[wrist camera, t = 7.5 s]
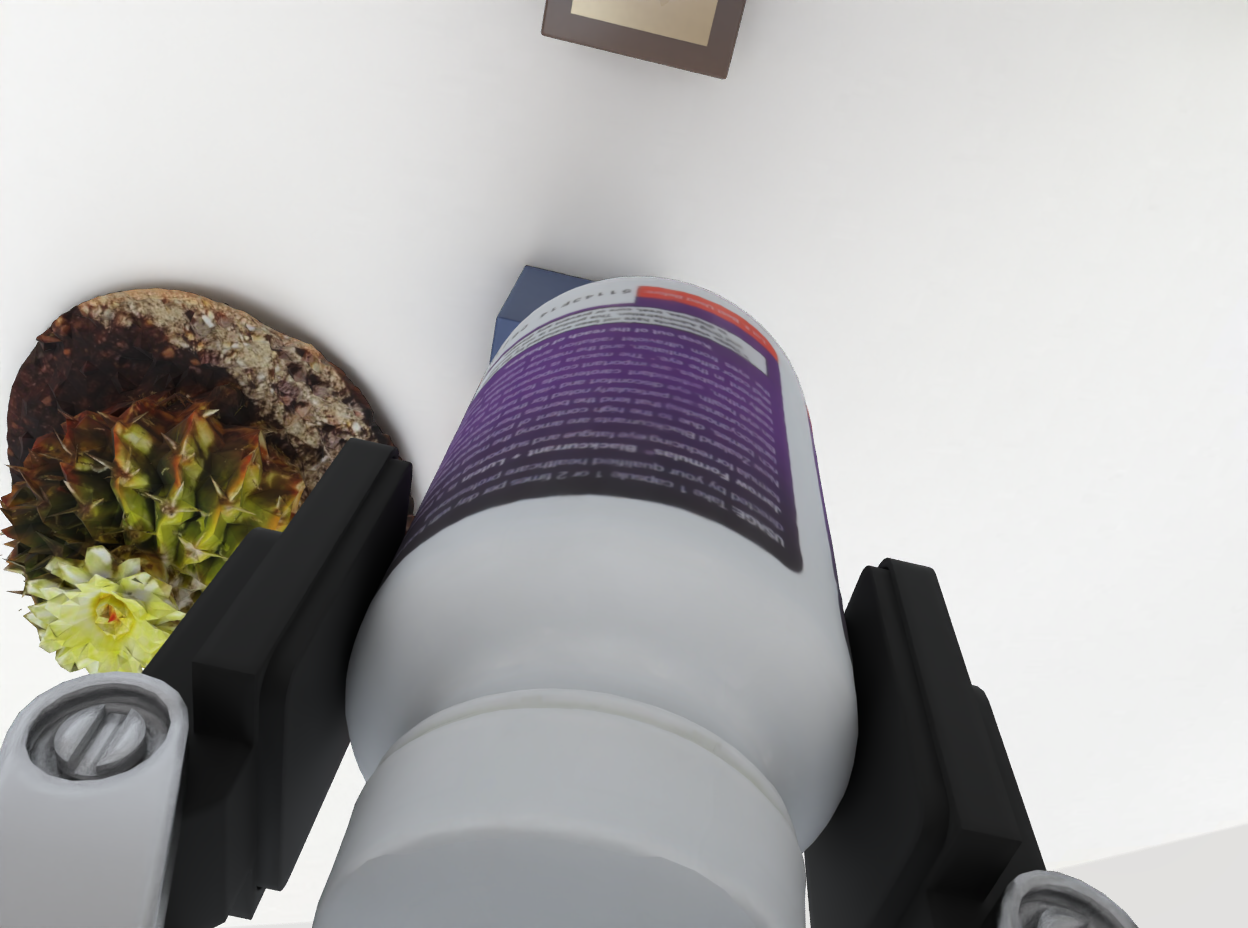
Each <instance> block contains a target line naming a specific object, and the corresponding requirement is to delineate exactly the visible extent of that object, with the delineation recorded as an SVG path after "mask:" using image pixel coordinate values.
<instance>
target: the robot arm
mask: <svg viewBox="0 0 1248 928" xmlns="http://www.w3.org/2000/svg"><path fill="white" fill-rule="evenodd" d="M411 480H412V463H410V462H406V461H401V460H399V452H398V449H397V447H393V446H389V445H384V444H380V443H375V442H371V441H367V440H362V439H358V438H350V439H349V440H348V441H347V442H346V443H345V445H344V446H343V448H342V449H341V450H340V452H339V453H338V455H337V456H336V458H335V459H334V460H333V462H332V463H331V465H330V466H329V467H328V469H327V470H326V472H325V473H324V475H323V476H322V477H321V479H320V480H319V482H318V483H317V484H316V486H315V487H314V489H313V490H312V491H311V493H310V494H309V496H308V497H307V499H306V500H305V501H304V503H303V504H302V506H301V507H300V508H299V510H298V511H297V513H296V514H295V516H294V517H293V518H292V520H291V521H290V523H289V524H288V525H287V527H286V528H285V530H284V531H283V532H280V531H275V530H271V529H266V528H262V527H257V528H254V529H252V530H251V531H250V532H249V533H248V534H247V535H246V536H245V538H244V539H243V540H242V541H241V543H240V544H239V545H238V547H237V548H236V549H235V551H234V552H233V553H232V555H231V556H230V557H229V559H228V560H227V561H226V562H225V564H224V565H223V566H222V568H221V569H220V570H219V572H218V573H217V574H216V576H215V577H214V578H213V580H212V581H211V582H210V583H209V585H208V586H207V587H206V589H205V590H204V591H203V593H202V594H201V595H200V597H199V598H198V599H197V601H196V602H195V603H194V604H193V606H192V607H191V608H190V610H189V611H188V612H187V614H186V615H185V616H184V618H183V619H182V620H181V622H180V623H179V624H178V625H177V627H176V628H175V629H174V631H173V632H172V633H171V635H170V636H169V637H168V639H167V640H166V641H165V643H164V644H163V645H162V646H161V648H160V649H159V650H158V652H157V653H156V654H155V656H154V657H153V658H152V660H151V661H150V662H149V664H148V665H147V666H146V667H145V669H144V670H143V671H142V673H131V672H120V671H114V672H105V673H96V674H88V675H85V676H82V677H79V678H76V679H72V680H69V681H66V682H63V683H61V684H59V685H57V686H55V687H53V688H51V689H50V690H48V691H46V692H44V693H42V694H40V695H39V696H37V697H36V698H35V699H34V700H33V701H32V702H31V703H29V704H28V705H27V706H26V707H25V708H24V709H23V710H22V711H20V712H19V713H18V715H17V717H16V718H15V720H14V722H13V723H12V725H11V727H10V728H9V730H8V732H7V734H6V736H5V739H4V742H3V744H2V747H1V750H0V928H214V927H216V926H218V925H220V924H222V923H224V922H225V921H226V919H227V917H228V915H230V916H235V917H240V918H245V919H249V920H251V919H252V917H253V915H254V913H255V911H256V908H257V906H258V904H259V902H260V900H261V898H262V896H263V893H264V891H265V889H266V888H267V889H272V890H277V891H281V890H283V888H284V887H285V885H286V883H287V881H288V879H289V877H290V875H291V873H292V871H293V868H294V866H295V864H296V862H297V859H298V857H299V855H300V853H301V851H302V848H303V846H304V844H305V842H306V839H307V837H308V835H309V833H310V830H311V828H312V826H313V824H314V821H315V819H316V817H317V815H318V812H319V810H320V808H321V806H322V803H323V801H324V799H325V797H326V795H327V792H328V790H329V788H330V786H331V783H332V781H333V779H334V777H335V774H336V772H337V770H338V768H339V765H340V763H341V761H342V759H343V756H344V754H345V752H346V750H347V748H348V745H349V743H350V738H349V732H348V726H347V721H346V715H345V691H346V676H347V670H348V664H349V660H350V656H351V652H352V649H353V645H354V642H355V639H356V636H357V634H358V631H359V628H360V626H361V623H362V621H363V618H364V616H365V614H366V612H367V609H368V607H369V605H370V603H371V601H372V599H373V597H374V595H375V593H376V591H377V589H378V587H379V585H380V583H381V581H382V579H383V577H384V576H385V574H386V572H387V570H388V568H389V566H390V564H391V562H392V560H393V558H394V556H395V554H396V552H397V550H398V548H399V547H400V545H401V543H402V541H403V539H404V537H405V534H406V525H407V516H408V507H409V498H410V489H411ZM844 616H845V621H846V626H847V632H848V638H849V644H850V649H851V654H852V660H853V673H854V684H855V691H856V697H857V712H858V739H857V746H856V753H855V759H854V765H853V768H852V772H851V776H850V779H849V783H848V786H847V788H846V791H845V793H844V796H843V798H842V799H841V801H840V803H839V805H838V807H837V809H836V811H835V813H834V814H833V816H832V818H831V819H830V821H829V822H828V824H827V826H826V827H825V828H824V830H823V831H822V832H821V833H820V835H819V836H818V837H817V839H816V840H815V841H814V842H813V843H812V844H811V845H810V846H809V847H808V848H807V849H806V850H805V851H804V856H805V867H806V878H807V890H808V901H809V911H810V923H811V928H1138V927H1137V925H1136V924H1135V923H1134V922H1133V920H1132V919H1131V918H1130V917H1129V916H1128V914H1127V913H1126V912H1125V911H1124V910H1122V909H1121V908H1120V907H1119V906H1118V905H1116V904H1115V903H1114V902H1113V901H1112V900H1111V899H1109V898H1108V897H1107V896H1106V895H1105V894H1103V893H1102V892H1100V891H1098V890H1097V889H1095V888H1093V887H1091V886H1090V885H1088V884H1087V883H1085V882H1083V881H1081V880H1079V879H1076V878H1074V877H1071V876H1068V875H1065V874H1062V873H1059V872H1054V871H1046V868H1045V865H1044V862H1043V859H1042V856H1041V853H1040V850H1039V847H1038V844H1037V841H1036V838H1035V835H1034V832H1033V830H1032V827H1031V824H1030V821H1029V818H1028V815H1027V812H1026V809H1025V806H1024V803H1023V800H1022V797H1021V794H1020V791H1019V788H1018V785H1017V782H1016V779H1015V777H1014V774H1013V771H1012V768H1011V765H1010V762H1009V759H1008V756H1007V753H1006V750H1005V747H1004V744H1003V741H1002V738H1001V735H1000V732H999V729H998V726H997V724H996V721H995V718H994V715H993V712H992V709H991V706H990V703H989V700H988V698H987V697H986V695H985V693H984V691H983V690H982V689H980V688H979V687H978V686H974V685H972V684H971V681H970V678H969V675H968V672H967V669H966V666H965V663H964V660H963V656H962V653H961V650H960V647H959V644H958V641H957V638H956V635H955V632H954V629H953V626H952V623H951V619H950V616H949V613H948V610H947V607H946V604H945V601H944V598H943V595H942V592H941V589H940V586H939V583H938V579H937V576H936V574H935V572H934V570H933V569H932V568H930V567H926V566H922V565H917V564H913V563H908V562H904V561H900V560H895V559H891V558H886V559H884V560H883V561H882V562H881V563H880V565H879V566H878V568H877V567H873V566H866V567H865V568H864V569H863V571H862V573H861V575H860V577H859V580H858V582H857V584H856V587H855V589H854V592H853V594H852V596H851V599H850V601H849V603H848V606H847V608H846V610H845V613H844Z"/></svg>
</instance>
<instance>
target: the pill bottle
mask: <svg viewBox="0 0 1248 928" xmlns="http://www.w3.org/2000/svg"><path fill="white" fill-rule="evenodd" d="M345 715H346V721H347V726H348V732H349V738H350V742H351V745H352V749H353V752H354V755H355V758H356V761H357V763H358V766H359V769H360V771H361V773H362V775H363V777H364V779H365V781H366V784H365V786H364V788H363V790H362V791H361V793H360V795H359V797H358V799H357V801H356V803H355V806H354V809H353V812H352V815H351V818H350V822H349V825H348V828H347V830H346V833H345V836H344V838H343V841H342V844H341V846H340V849H339V852H338V854H337V857H336V860H335V862H334V865H333V868H332V870H331V873H330V875H329V878H328V880H327V883H326V885H325V888H324V890H323V893H322V895H321V897H320V900H319V902H318V906H317V910H316V913H315V917H314V921H313V926H312V928H806V927H805V888H806V873H805V865H804V860H803V856H802V853H803V852H804V851H805V850H806V849H807V848H808V847H809V846H810V845H811V844H812V843H813V842H814V841H815V840H816V839H817V837H818V836H819V835H820V833H821V832H822V831H823V830H824V828H825V827H826V826H827V824H828V822H829V821H830V819H831V818H832V816H833V814H834V813H835V811H836V809H837V807H838V805H839V803H840V801H841V799H842V798H843V796H844V793H845V791H846V788H847V786H848V783H849V779H850V776H851V772H852V768H853V765H854V759H855V753H856V746H857V739H858V712H857V697H856V691H855V684H854V673H853V660H852V654H851V649H850V644H849V638H848V632H847V626H846V621H845V616H844V611H843V603H842V597H841V593H840V589H839V583H838V576H837V570H836V563H835V558H834V552H833V546H832V540H831V535H830V530H829V525H828V520H827V514H826V509H825V503H824V498H823V492H822V487H821V481H820V475H819V469H818V462H817V455H816V451H815V446H814V440H813V432H812V426H811V421H810V417H809V413H808V409H807V405H806V402H805V398H804V394H803V391H802V388H801V385H800V382H799V380H798V377H797V375H796V373H795V371H794V369H793V367H792V365H791V363H790V361H789V359H788V357H787V356H786V354H785V353H784V351H783V350H782V348H781V347H780V346H779V344H778V343H777V342H776V341H775V340H774V338H773V337H772V336H771V335H770V334H769V333H768V332H767V331H766V330H765V329H764V328H763V327H762V326H761V325H760V324H759V323H758V322H757V321H756V320H755V319H754V318H753V317H751V316H750V315H749V314H748V313H746V312H745V311H744V310H742V309H741V308H739V307H738V306H737V305H735V304H733V303H732V302H730V301H728V300H726V299H725V298H723V297H721V296H719V295H717V294H715V293H713V292H711V291H709V290H706V289H703V288H701V287H698V286H695V285H692V284H689V283H685V282H681V281H677V280H673V279H666V278H659V277H648V276H626V277H617V278H611V279H605V280H601V281H597V282H593V283H589V284H586V285H583V286H579V287H576V288H574V289H572V290H569V291H567V292H565V293H563V294H561V295H559V296H557V297H555V298H554V299H552V300H550V301H548V302H547V303H545V304H543V305H542V306H541V307H539V308H538V309H536V310H535V311H533V312H532V313H531V314H530V315H529V316H528V317H527V318H526V319H524V320H523V321H522V322H521V323H520V324H519V325H518V326H517V327H516V328H515V329H514V331H513V332H512V333H511V334H510V335H509V337H508V338H507V339H506V341H505V342H504V343H503V345H502V346H501V348H500V349H499V351H498V352H497V354H496V356H495V357H494V359H493V360H492V362H491V364H490V365H489V367H488V368H487V370H486V372H485V374H484V376H483V378H482V380H481V383H480V385H479V387H478V389H477V391H476V393H475V395H474V397H473V399H472V401H471V403H470V405H469V407H468V409H467V411H466V414H465V416H464V418H463V420H462V422H461V424H460V426H459V428H458V430H457V432H456V434H455V436H454V438H453V440H452V442H451V444H450V446H449V448H448V450H447V452H446V454H445V457H444V459H443V461H442V463H441V465H440V467H439V469H438V471H437V473H436V475H435V477H434V479H433V481H432V483H431V485H430V487H429V489H428V491H427V493H426V495H425V497H424V499H423V501H422V503H421V505H420V507H419V509H418V511H417V513H416V515H415V517H414V519H413V521H412V523H411V525H410V527H409V529H408V531H407V533H406V535H405V537H404V539H403V541H402V543H401V545H400V547H399V548H398V550H397V552H396V554H395V556H394V558H393V560H392V562H391V564H390V566H389V568H388V570H387V572H386V574H385V576H384V577H383V579H382V581H381V583H380V585H379V587H378V589H377V591H376V593H375V595H374V597H373V599H372V601H371V603H370V605H369V607H368V609H367V612H366V614H365V616H364V618H363V621H362V623H361V626H360V628H359V631H358V634H357V636H356V639H355V642H354V645H353V649H352V652H351V656H350V660H349V664H348V670H347V676H346V691H345Z"/></svg>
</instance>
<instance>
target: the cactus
mask: <svg viewBox="0 0 1248 928" xmlns="http://www.w3.org/2000/svg"><path fill="white" fill-rule="evenodd" d="M36 340H37V341H39V342H38V343H37V345H36V347H35V348H34V349H33V351H32V352H31V354H30V355H29V356H28V358H27V359H26V360H25V362H24V363H23V364H22V366H21V368H20V370H19V372H18V374H17V377H16V379H15V381H14V384H13V386H12V389H11V393H10V400H9V405H8V413H7V428H8V432H7V442H8V449H7V454H8V460H9V462H10V465H6V466H8V467H10V473H11V477H12V492H11V493H10V494H7V495H5V496H3V497H1V500H2V501H1V500H0V503H1V505H2V508H0V510H1V511H2V512H3V513H4V515H5V516H6V517H7V518H8V520H9V521H10V522H11V524H12V525H13V526H10V527H8V528H5V529H2V530H1V531H2V533H0V535H4V534H5V535H6V536H7V537H9V538H12V539H14V541H11V542H8V543H5V544H4V545H7V546H10V547H14V549H13V550H12V552H11V553H10V555H9V556H8V558H9V559H8V558H7V559H8V560H7V559H4V560H7V561H6V562H8V563H9V565H8V566H7V567H6V568H5V569H4V570H6V571H10V572H15V573H19V574H22V575H23V576H24V577H25V581H24V582H25V587H24V591H7V592H12V593H17V594H22V597H23V596H24V595H28V596H32V599H33V601H34V603H35V605H32V606H28V608H29V609H30V610H31V612H29V613H27V614H26V615H24V617H25V618H26V619H27V620H28V621H29V622H30V623H32V624H33V625H34V626H35V627H36V628H37V630H38V634H39V638H40V641H41V642H40V645H39V647H41V648H42V649H44V650H45V651H47V652H48V653H51V652H54V651H56V650H57V651H56V657H55V659H56V661H57V662H58V664H59V665H60V666H61V667H62V668H64V669H66V670H67V671H69V672H73V671H77V670H80V669H83V668H86V669H87V671H88V672H89V674H96V673H105V672H114V671H120V672H131V673H142V667H143V668H145V667H146V666H147V665H148V664H149V662H150V661H151V660H152V658H153V657H154V656H155V654H156V653H157V652H158V650H159V649H160V648H161V646H162V645H163V644H164V643H165V641H166V640H167V639H168V637H169V636H170V635H171V633H172V632H173V631H174V629H175V628H176V627H177V625H178V624H179V623H180V622H181V620H182V619H183V618H184V616H185V615H186V614H187V612H188V611H189V610H190V608H191V607H192V606H193V604H194V603H195V602H196V601H197V599H198V598H199V597H200V595H201V594H202V593H203V591H204V590H205V589H206V587H207V586H208V585H209V583H210V582H211V581H212V580H213V578H214V577H215V576H216V574H217V573H218V572H219V570H220V569H221V568H222V566H223V565H224V564H225V562H226V561H227V560H228V559H229V557H230V556H231V555H232V553H233V552H234V551H235V549H236V548H237V547H238V545H239V544H240V543H241V541H242V540H243V539H244V538H245V536H246V535H247V534H248V533H249V532H250V531H251V530H252V529H254V528H257V527H262V528H266V529H271V530H275V531H280V532H283V531H284V530H285V528H286V527H287V525H288V524H289V523H290V521H291V520H292V518H293V517H294V516H295V514H296V513H297V511H298V510H299V508H300V507H301V506H302V504H303V503H304V501H305V500H306V499H307V497H308V496H309V494H310V493H311V491H312V490H313V489H314V487H315V486H316V484H317V483H318V482H319V480H320V479H321V477H322V476H323V475H324V473H325V472H326V470H327V469H328V467H329V466H330V465H331V463H332V462H333V460H334V459H335V458H336V456H337V455H338V453H339V452H340V450H341V449H342V448H343V446H344V445H345V443H346V442H347V441H348V440H349V439H350V438H358V439H362V440H367V441H371V442H375V443H380V444H384V445H389V446H393V447H395V446H394V445H393V443H392V441H391V438H390V436H389V435H388V434H384V433H382V432H381V430H380V428H379V427H378V426H377V425H376V424H375V422H374V419H373V413H374V412H373V411H372V409H371V407H370V405H369V403H368V402H367V400H366V398H365V397H364V396H363V395H362V393H361V391H360V390H359V388H358V387H356V386H354V384H353V383H352V381H351V380H350V379H349V378H348V377H347V376H346V374H345V373H344V372H343V371H342V370H341V369H340V368H339V367H337V366H336V365H334V364H333V363H331V362H328V361H327V360H326V358H325V357H324V356H323V355H322V353H321V352H320V351H318V350H317V349H315V348H314V346H313V345H312V344H308V343H304V342H302V341H300V340H299V339H295V338H293V337H290V336H288V335H286V334H284V333H281V332H278V331H276V330H274V329H273V328H271V327H269V326H267V325H265V324H263V323H262V322H260V321H258V320H257V319H255V318H254V317H252V316H251V315H249V314H248V313H246V312H244V311H242V310H238V309H235V308H232V307H230V306H229V305H228V304H226V303H221V302H216V301H213V300H211V299H208V298H206V297H203V296H200V295H197V294H194V293H191V292H184V291H180V290H167V289H159V288H152V289H134V290H128V291H119V292H115V293H109V294H107V295H104V296H98V297H96V298H94V299H91V300H89V301H86V302H83V303H81V304H79V305H78V306H75V307H73V308H72V309H71V310H70V311H68V312H66V313H64V314H62V315H61V316H59V318H58V319H57V320H55V321H54V322H53V323H52V325H51V327H50V328H49V329H48V330H46V331H45V332H44V333H43V334H41V335H39V336H38V337H37V338H36ZM399 460H401V461H402V459H401V458H400V457H399ZM413 510H414V501H413V498H412V497H411V496H410V498H409V507H408V516H407V525H406V533H407V531H408V529H409V527H410V525H411V523H412V521H413V519H414V517H415V516H413ZM405 535H406V534H405ZM0 556H1V555H0ZM2 559H3V558H2ZM20 610H21V609H20ZM20 610H19V611H20Z"/></svg>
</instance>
